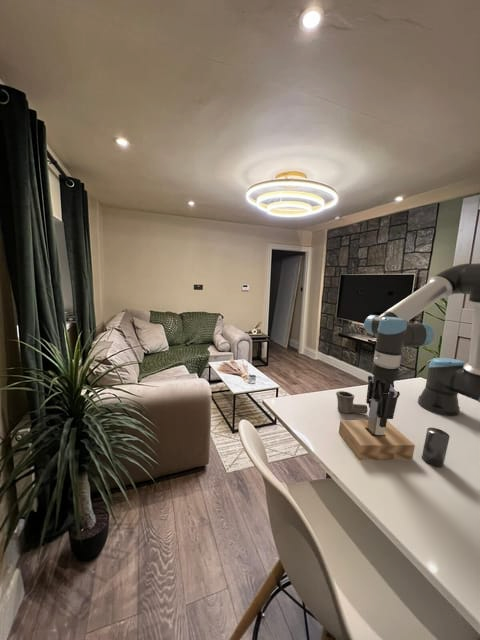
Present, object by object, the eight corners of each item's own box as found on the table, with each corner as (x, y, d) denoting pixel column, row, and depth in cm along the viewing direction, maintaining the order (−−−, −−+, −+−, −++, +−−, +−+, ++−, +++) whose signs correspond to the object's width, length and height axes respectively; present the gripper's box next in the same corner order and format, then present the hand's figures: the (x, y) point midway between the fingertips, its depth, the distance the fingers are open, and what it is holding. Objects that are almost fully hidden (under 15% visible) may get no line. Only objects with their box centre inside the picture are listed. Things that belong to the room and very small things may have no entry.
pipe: (367, 418, 106) (370, 400, 105) (335, 413, 109) (337, 395, 108) (363, 411, 112) (366, 393, 111) (333, 406, 115) (335, 389, 113)
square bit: (375, 435, 91) (381, 397, 88) (382, 441, 87) (388, 403, 85) (366, 435, 90) (371, 397, 88) (371, 441, 87) (378, 403, 84)
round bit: (433, 455, 86) (439, 427, 84) (447, 467, 80) (454, 438, 79) (417, 455, 85) (422, 427, 84) (431, 467, 80) (437, 438, 78)
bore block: (385, 432, 97) (387, 420, 96) (412, 459, 83) (415, 445, 82) (338, 432, 95) (340, 420, 94) (358, 459, 82) (360, 445, 81)
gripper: (361, 356, 92) (352, 416, 96) (391, 374, 76) (379, 446, 80) (381, 356, 93) (371, 416, 97) (415, 375, 76) (402, 446, 80)
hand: (375, 430), depth 88 cm, fingers closed on square bit, 4 cm apart
